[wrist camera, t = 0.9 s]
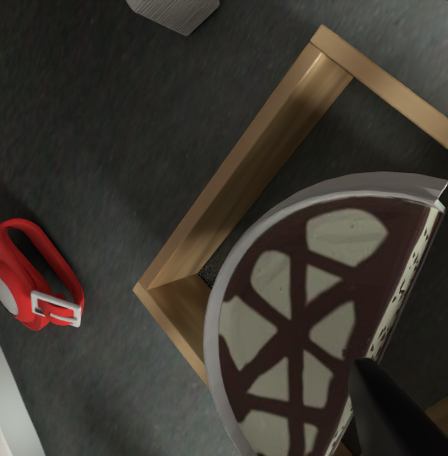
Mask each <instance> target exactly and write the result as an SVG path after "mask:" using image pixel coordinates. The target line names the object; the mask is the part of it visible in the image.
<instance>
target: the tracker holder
mask: <svg viewBox="0 0 448 456" xmlns="http://www.w3.org/2000/svg"><path fill="white" fill-rule="evenodd" d="M9 228H12V229H18V230H21V231H23V232H24V233H25V234H26V235H27V236H28V237H29V238H30V240H31V241H32V242H33V244H34V245H35V246H36V248H37V249H38V250H39V251H40V253H41V254H42V255H43V257H44V258H45V259H46V261H47V262H48V263H49V265H50V266H51V267H52V269H53V270H54V271H55V272H56V274H57V275H58V277H59V278H60V279H61V281H62V282H63V283H64V285H65V286H66V287H67V288H68V290H69V291H70V293H71V295H72V297H73V299H74V301H75V302H74V303H71V302H68V301H67V300H66V297H65V296H64V295H63V294H61V293H56V294H54V295H52V292H51V289H50V287H49V285H48V283H47V282H46V281H45V279H44V278H43V277H42V275H41V274H40V273H39V272H38V271H37V270H36V269H35V268H34V266H33V265H32V264H31V263H30V262H29V261H28V260H27V259H26V257H25V256H24V255H23V254H22V253H21V252H20V251H19V249H18V248H17V247H16V246H15V245H14V244H13V242H12V241H11V239H10V238H9V236H8V234H7V229H9ZM0 302H1V303H2V305H3V306H4V307H5V309H6V310H7V311H8V312H9V313H10V314H11V315H12V316H14V317H15V318H17V319H18V320H20V321H21V322H22V323H23V324H24V325H25V326H27V327H28V328H30V329H32V330H40V329H42V328H43V327H44V326H45V325H47V324H48V323H49V321H51V322H52V323H54V324H58V325H63V326H65V325H68V324H69V325H72V326H75V327H79V326H80V320H81V316H82V313H83V308H84V292H83V289H82V287H81V285H80V283H79V281H78V279H77V277H76V275H75V274H74V272H73V271H72V269H71V268H70V266H69V265H68V264H67V263H66V261H65V260H64V259H63V257H62V256H61V255H60V253H59V252H58V251H57V249H56V248H55V247H54V245H53V244H52V243H51V241H50V240H49V239H48V237H47V236H46V235H45V233H44V232H43V231H42V230H41V228H40V227H39V226H37V225H36V224H35V223H33V222H31V221H29V220H27V219H23V218H14V219H9V220H6V221H4V222H2V223H0Z"/></svg>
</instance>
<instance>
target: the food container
mask: <svg viewBox="0 0 448 456" xmlns="http://www.w3.org/2000/svg"><path fill="white" fill-rule="evenodd" d="M447 185H448V180H444V179H440V178H435V177H430V176H425V175H421V174H415V173H400V172H385V171H381V172H369V173H357V174H350V175H345V176H341V177H337V178H333V179H329V180H325V181H322V182H319V183H317V184H315V185H312V186H310V187H307V188H305V189H303V190H300V191H298V192H297V193H295V194H293V195H292V196H290V197H289V198H287V199H285V200H284V201H282V202H281V203H279V204H277V205H276V206H275V207H273V208H272V209H271V210H269V211H268V212H267V213H265V214H264V215H263V216H262V217H261V218H260V219H258V220H257V221H256V222H255V223H254V224H253V225H252V226H250V227H249V228H248V229H247V230H246V231H245V233H244V234H243V235H242V236H241V238H240V239H239V240H238V241H237V242H236V244H235V245H234V246H233V247H232V249H231V251H230V252H229V254H228V256H227V258H226V259H225V261H224V263H223V265H222V266H221V268H220V271H219V273H218V275H217V277H216V280H215V283H214V285H213V288H212V291H211V293H210V296H209V300H208V305H207V310H206V315H205V319H204V336H203V348H204V361H205V369H206V374H207V379H208V384H209V389H210V392H211V395H212V398H213V401H214V404H215V407H216V410H217V413H218V415H219V417H220V419H221V421H222V424H223V426H224V428H225V430H226V432H227V434H228V436H229V438H230V440H231V441H232V443H233V445H234V446H235V448H236V450H237V451H238V453H239V455H240V456H332V455H333V453H334V452H335V450H336V448H337V446H338V444H339V442H340V440H341V438H342V436H343V434H344V432H345V431H346V429H347V427H348V425H349V423H350V421H351V419H352V417H353V415H354V413H353V408H352V404H351V399H350V394H349V389H348V379H349V373H350V367H351V362H352V360H353V359H354V358H365V357H368V358H371V359H373V360H374V361H375V362H376V363H377V364H378V365H379V364H380V362H381V359H382V357H383V355H384V353H385V350H386V348H387V346H388V343H389V341H390V339H391V337H392V334H393V332H394V330H395V328H396V325H397V323H398V321H399V318H400V316H401V314H402V312H403V309H404V307H405V305H406V303H407V300H408V298H409V296H410V293H411V291H412V289H413V287H414V284H415V282H416V280H417V278H418V275H419V273H420V271H421V268H422V266H423V264H424V262H425V259H426V257H427V255H428V253H429V250H430V248H431V246H432V243H433V241H434V239H435V237H436V234H437V232H438V230H439V228H440V225H441V223H442V221H443V218H444V216H445V214H446V212H447V209H446V208H445V207H444V206H443V204H442V203H441V202H440V201H439V200H438V199H439V196H440V195H441V193H442V192H443V191H444V189H445V188H446V186H447Z"/></svg>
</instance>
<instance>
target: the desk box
mask: <svg viewBox="0 0 448 456" xmlns="http://www.w3.org/2000/svg"><path fill="white" fill-rule="evenodd" d="M310 42H311V43H310ZM310 42H309V43H308V44H307V45H306V47H305V48H304V50H303V51H302V52H301V54H300V55H299V57H298V58H297V59H296V61H295V62H294V64H293V65H292V66H291V68H290V69H289V71H288V72H287V73H286V75H285V76H284V78H283V79H282V80H281V82H280V83H279V85H278V86H277V87H276V89H275V90H274V92H273V93H272V94H271V96H270V97H269V99H268V100H267V102H266V103H265V104H264V106H263V107H262V109H261V110H260V111H259V113H258V114H257V116H256V117H255V118H254V120H253V121H252V123H251V124H250V125H249V127H248V128H247V130H246V131H245V132H244V134H243V135H242V137H241V138H240V139H239V141H238V142H237V144H236V145H235V146H234V148H233V149H232V151H231V152H230V153H229V155H228V156H227V158H226V159H225V160H224V162H223V163H222V165H221V166H220V168H219V169H218V170H217V172H216V173H215V175H214V176H213V177H212V179H211V180H210V182H209V183H208V184H207V186H206V187H205V189H204V190H203V191H202V193H201V194H200V196H199V197H198V198H197V200H196V201H195V203H194V204H193V205H192V207H191V208H190V210H189V211H188V212H187V214H186V215H185V217H184V218H183V219H182V221H181V222H180V224H179V225H178V226H177V228H176V229H175V231H174V232H173V234H172V235H171V236H170V238H169V239H168V241H167V242H166V243H165V245H164V246H163V248H162V249H161V250H160V252H159V253H158V255H157V256H156V257H155V259H154V260H153V262H152V263H151V264H150V266H149V267H148V269H147V270H146V271H145V273H144V274H143V276H142V277H141V278H140V280H139V281H138V283H137V284H136V285H135V287H134V288H133V291H134V293H135V294H136V295H137V296H138V298H139V299H140V300H141V302H142V303H143V304H144V306H145V307H146V308H147V309H148V311H149V312H150V313H151V315H152V316H153V317H154V318H155V320H156V321H157V322H158V324H159V325H160V326H161V327H162V329H163V330H164V331H165V333H166V334H167V335H168V336H169V338H170V339H171V340H172V342H173V343H174V344H175V346H176V347H177V348H178V349H179V351H180V352H181V353H182V355H183V356H184V357H185V358H186V360H187V361H188V362H189V364H190V365H191V366H192V367H193V369H194V370H195V371H196V373H197V374H198V375H199V376H200V378H201V379H202V380H203V382H204V383H205V384H206V386H207V387H208V388H209V384H208V379H207V374H206V369H205V361H204V348H203V336H204V319H205V315H206V310H207V305H208V300H209V296H210V293H211V291H212V290H211V289H210V288H209V287H208V286H207V284H206V283H205V282H204V281H203V280H202V279H201V277H200V276H199V275H198V274H197V273H198V272H199V271H200V270H201V268H202V267H203V266H204V265H205V263H206V262H207V261H208V260H209V258H210V257H211V256H212V255H213V253H214V252H215V251H216V250H217V248H218V247H219V246H220V245H221V243H222V242H223V241H224V240H225V238H226V237H227V236H228V234H229V233H230V232H231V231H232V229H233V228H234V227H235V226H236V224H237V223H238V222H239V221H240V219H241V218H242V217H243V216H244V214H245V213H246V212H247V211H248V209H249V208H250V207H251V206H252V204H253V203H254V202H255V201H256V199H257V198H258V197H259V196H260V194H261V193H262V192H263V191H264V189H265V188H266V187H267V186H268V184H269V183H270V182H271V180H272V179H273V178H274V177H275V175H276V174H277V173H278V172H279V170H280V169H281V168H282V167H283V165H284V164H285V163H286V162H287V160H288V159H289V158H290V157H291V155H292V154H293V153H294V152H295V150H296V149H297V148H298V147H299V145H300V144H301V143H302V142H303V140H304V139H305V138H306V137H307V135H308V134H309V133H310V132H311V130H312V129H313V128H314V126H315V125H316V124H317V123H318V121H319V120H320V119H321V118H322V116H323V115H324V114H325V113H326V111H327V110H328V109H329V108H330V106H331V105H332V104H333V103H334V101H335V100H336V99H337V98H338V96H339V95H340V94H341V93H342V91H343V90H344V89H345V88H346V86H347V85H348V84H349V83H350V81H351V80H352V79H353V76H354V77H355V78H357V79H358V80H359V81H360V82H362V83H363V84H364V85H366V86H367V87H368V88H369V89H371V90H372V91H373V92H375V93H376V94H377V95H378V96H380V97H381V98H382V99H383V100H385V101H386V102H387V103H389V104H390V105H391V106H392V107H394V108H395V109H396V110H398V111H399V112H400V113H401V114H403V115H404V116H405V117H407V118H408V119H409V120H410V121H412V122H413V123H414V124H415V125H417V126H418V127H419V128H421V129H422V130H423V131H424V132H426V133H427V134H428V135H430V136H431V137H432V138H433V139H435V140H436V141H437V142H438V143H440V144H441V145H442V146H444V147H445V148H446V149H447V150H448V118H447V117H446V116H444V115H443V114H442V113H440V112H439V111H438V110H436V109H435V108H434V107H432V106H431V105H430V104H428V103H427V102H426V101H424V100H423V99H422V98H420V97H419V96H418V95H416V94H415V93H414V92H413V91H411V90H410V89H409V88H407V87H406V86H405V85H403V84H402V83H401V82H399V81H398V80H397V79H395V78H394V77H393V76H391V75H390V74H389V73H387V72H386V71H385V70H383V69H382V68H381V67H379V66H378V65H377V64H375V63H374V62H373V61H371V60H370V59H369V58H367V57H366V56H365V55H363V54H362V53H361V52H359V51H358V50H357V49H355V48H354V47H353V46H351V45H350V44H349V43H347V42H346V41H345V40H343V39H342V38H341V37H339V36H338V35H337V34H335V33H334V32H333V31H331V30H330V29H329V28H327V27H326V26H325V25H321V26H320V27H319V28H318V30H317V31H316V33H315V34H314V35H313V37H312V38H311V40H310ZM424 412H425V413H426V414H427V415H428V416H429V417H430V418H431V419H432V420H433V421H434V423H435V424H436V425H437V426H438V427H439V428H440V429H441V430H442V431H443V432H444V433H445V434H446V435H447V436H448V396H446V397H445V398H443V399H442V400H440V401H439V402H437V403H436V404H434V405H433V406H432V407H430V408H429V409H427V410H426V411H424ZM332 456H353V455H352V454H351V453H350V452H349V450H348V449H347V448H346V447H345V446H344V445H343V443H342V442H341V441H340V442H339V444H338V446H337V448H336V450H335V452H334V453H333V455H332ZM359 456H363V455H362V454H361V455H359Z"/></svg>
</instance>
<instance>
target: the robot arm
mask: <svg viewBox="0 0 448 456" xmlns="http://www.w3.org/2000/svg"><path fill="white" fill-rule="evenodd" d="M348 389H349V394H350V399H351V404H352V408H353V413H354V418H355V422H356V427H357V432H358V437H359V441H360V446H361V450H362V455H363V456H448V436H447V435H446V434H445V433H444V432H443V431H442V430H441V429H440V428H439V427H438V426H437V425H436V424H435V423H434V421H433V420H432V419H431V418H430V417H429V416H428V415H427V414H426V413H425V412H424V411H423V410H422V409H421V408H420V407H419V406H418V405H417V404H416V403H415V402H414V401H413V400H412V399H411V398H410V397H409V396H408V395H407V394H406V393H405V392H404V391H403V390H402V389H401V388H400V387H399V386H398V385H397V384H396V383H395V382H394V381H393V380H392V379H391V377H390V376H389V375H388V374H387V373H386V372H385V371H384V370H383V369H382V368H381V367H380V366H379V365H378V364H377V363H376V362H375V361H374V360H373V359H371V358H368V357H365V358H354V359H353V360H352V362H351V367H350V373H349V379H348Z"/></svg>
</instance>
